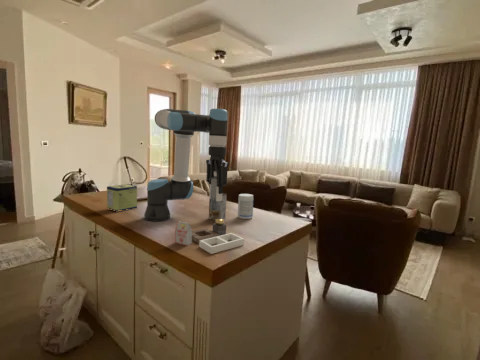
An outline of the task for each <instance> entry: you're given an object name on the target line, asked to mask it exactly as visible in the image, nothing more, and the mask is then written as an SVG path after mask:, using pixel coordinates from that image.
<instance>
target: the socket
mask: <svg viewBox="0 0 480 360" xmlns="http://www.w3.org/2000/svg"><path fill="white" fill-rule="evenodd" d="M225 234H227V224H226V223H224V224H222V225H217V224H215V223H212V230H211V229H209V228H207V227H205V228H201V229H197V230H196V229H195V230H192V242H193V241H194V242H195V243H196V244H199V240H203V239H208V238H212V237H216V236H221V235H225Z"/></svg>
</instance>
